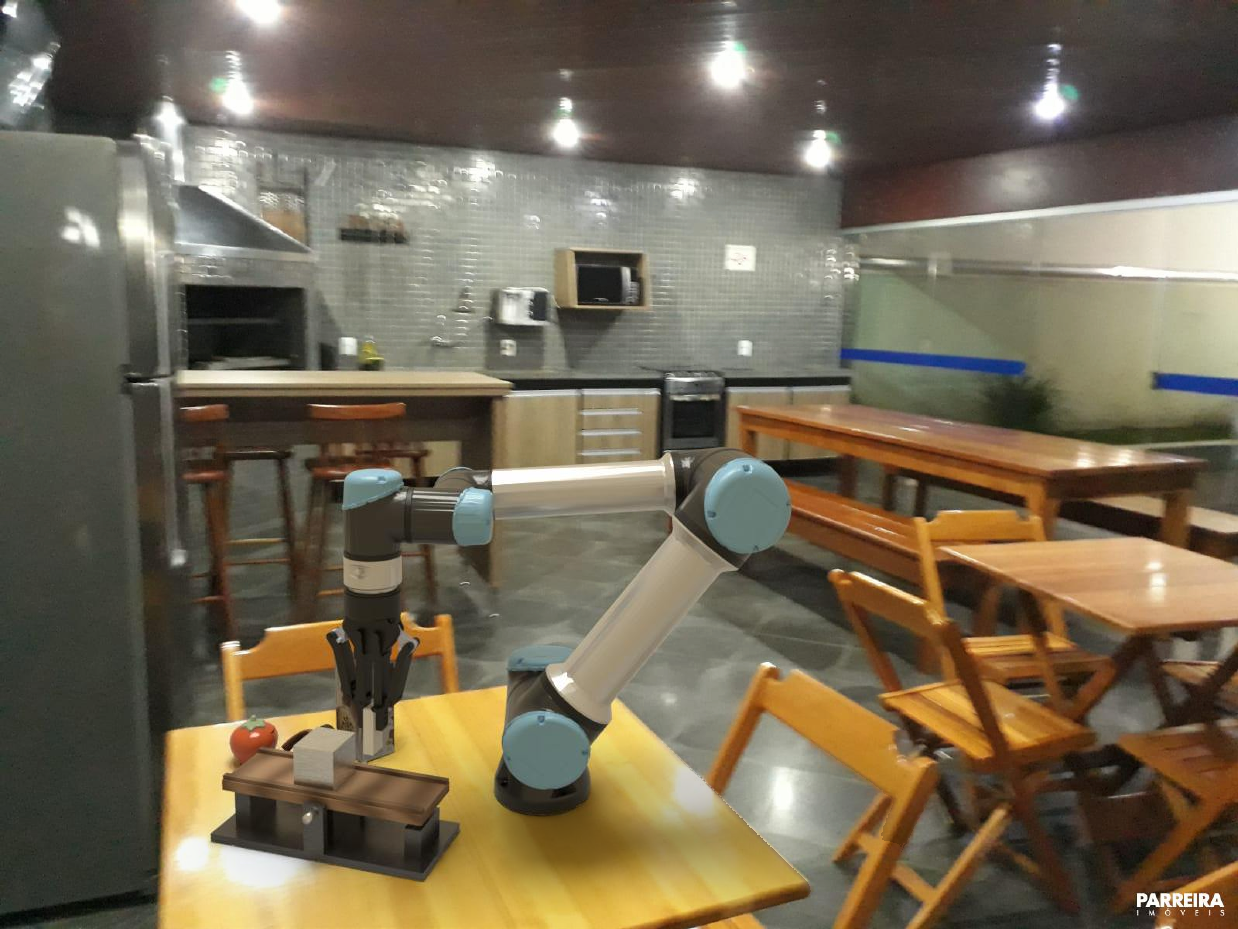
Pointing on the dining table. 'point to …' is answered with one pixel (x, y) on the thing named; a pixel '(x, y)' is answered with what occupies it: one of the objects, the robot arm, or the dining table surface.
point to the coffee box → (349, 721)
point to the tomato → (252, 738)
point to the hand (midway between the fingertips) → (373, 750)
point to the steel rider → (324, 758)
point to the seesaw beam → (343, 788)
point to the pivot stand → (337, 836)
